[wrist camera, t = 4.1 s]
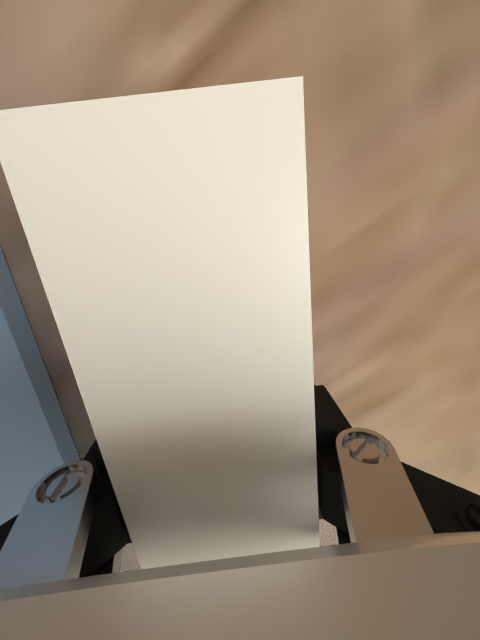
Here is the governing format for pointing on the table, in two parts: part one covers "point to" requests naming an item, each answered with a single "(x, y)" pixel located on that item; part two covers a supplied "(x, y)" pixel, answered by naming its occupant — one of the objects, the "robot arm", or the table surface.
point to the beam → (183, 304)
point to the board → (25, 407)
